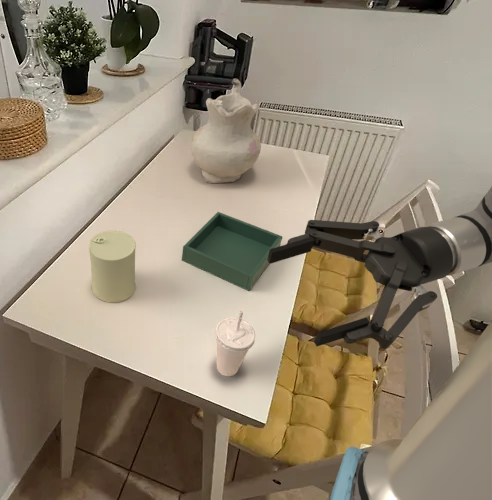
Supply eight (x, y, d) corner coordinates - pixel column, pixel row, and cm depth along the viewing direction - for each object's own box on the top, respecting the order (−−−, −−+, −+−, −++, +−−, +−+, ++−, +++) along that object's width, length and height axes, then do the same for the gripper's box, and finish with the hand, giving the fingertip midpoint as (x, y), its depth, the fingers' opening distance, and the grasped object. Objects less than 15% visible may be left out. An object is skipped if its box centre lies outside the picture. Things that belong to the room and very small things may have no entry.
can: (102, 267, 95) (100, 224, 87) (141, 277, 93) (142, 234, 85) (84, 295, 88) (80, 251, 81) (126, 307, 86) (125, 263, 78)
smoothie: (251, 362, 76) (266, 309, 67) (237, 389, 72) (252, 337, 63) (218, 346, 79) (229, 293, 70) (202, 371, 75) (212, 319, 66)
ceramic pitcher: (189, 156, 137) (189, 77, 121) (250, 154, 136) (259, 73, 120) (192, 193, 121) (193, 107, 105) (262, 191, 120) (274, 103, 103)
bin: (278, 250, 101) (282, 236, 98) (249, 291, 90) (252, 277, 87) (215, 224, 108) (217, 211, 105) (181, 260, 97) (182, 246, 95)
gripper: (485, 342, 55) (333, 392, 54) (372, 206, 70) (250, 242, 69) (520, 315, 49) (350, 370, 48) (388, 173, 64) (255, 211, 63)
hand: (291, 295), depth 58 cm, fingers open, 13 cm apart
